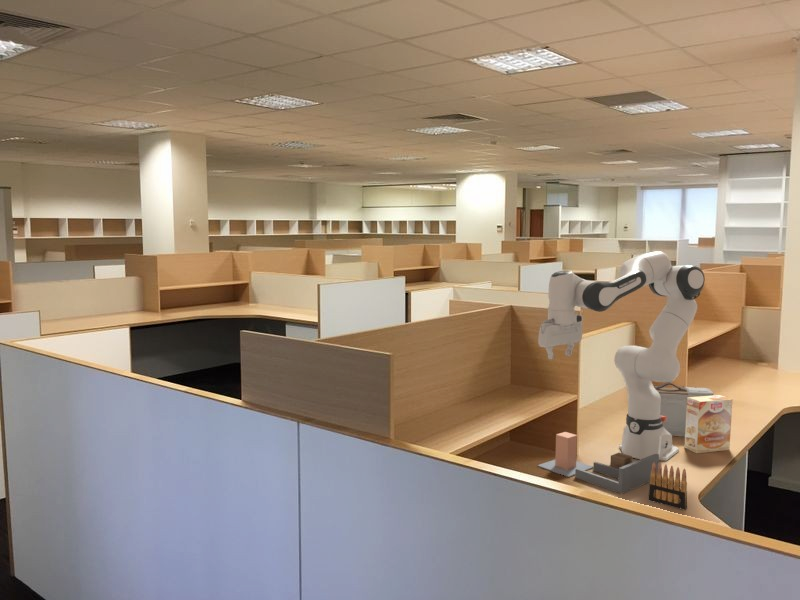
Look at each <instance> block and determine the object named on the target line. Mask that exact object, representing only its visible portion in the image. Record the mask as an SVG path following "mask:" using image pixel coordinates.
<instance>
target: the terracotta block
mask: <svg viewBox="0 0 800 600" xmlns="http://www.w3.org/2000/svg"><path fill="white" fill-rule="evenodd" d="M577 447H578V435H577V434H574V433H571V432H567V431H563V432H560V433H556V434H555V458H554V460H555V466H558V467H561V468H564V469H567V470H568V469H570V468H573V467H576V461H577V457H578V456H577V449H578V448H577Z"/></svg>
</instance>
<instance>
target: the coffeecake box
mask: <svg viewBox="0 0 800 600" xmlns="http://www.w3.org/2000/svg"><path fill="white" fill-rule="evenodd" d="M733 402H734V401H733V398H730V397H728V396H724V395H722V394H713V395H712V396H699V397H687V412H686V430H685V436H684V448H685V449H687V450H689V451H691V452H692V453H695V454H703V453H711V452H712V453H713V452H714V453H715V452H721V451H730V450H731V449H730V446H731V431H732V414H733V413H732V412H733Z"/></svg>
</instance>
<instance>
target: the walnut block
mask: <svg viewBox="0 0 800 600" xmlns="http://www.w3.org/2000/svg"><path fill="white" fill-rule="evenodd" d="M632 461H633V458H632V456H630V455H626V454H623V453H622V452H616V453H613V454H611V455H610V463H609V466H611V467H614V468H617V469H619V468H620V467H622V466H625V465H627V464H630V463H632Z"/></svg>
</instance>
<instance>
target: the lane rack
mask: <svg viewBox="0 0 800 600" xmlns="http://www.w3.org/2000/svg"><path fill="white" fill-rule="evenodd" d="M653 462H655V465H656V477H657V471H658V465H659V463H660V460H659V454H653V455H650V456H648V457H645V458H643V459H638V460H635V461H633V460H632V463H630V464H627V465H625V466H622V467H620V468H619V469H617V468H614V467H611V466H610V465H608V464H604V463H602V462H597V461H594V462H593V465H592V466H593V468H592V470H593V472H595V473H592V472H590V471H588V470H587V471H584V470H581V469H578V468H576V469H575V475H574V478H575V479H577V480H581V481H584V482H587V483H589V484H592V485H594V486H595V485H596V486H597V487H600V488H604V489H607V490H609V491H613V492H614V493H617V494H621V495H622V494H624V493H627V492H629V491H631V490H634V489H636V488H638V487H640V486H643V485H645V484H648V483H649V482H650V478H651V471H652V464H653ZM596 473H599V474H602V475H605V477H604V476H602V475H599V474H596ZM606 476H608V477H606ZM610 477H611V478H614V479H617V480H618V481H616V480H614V479H610Z"/></svg>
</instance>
